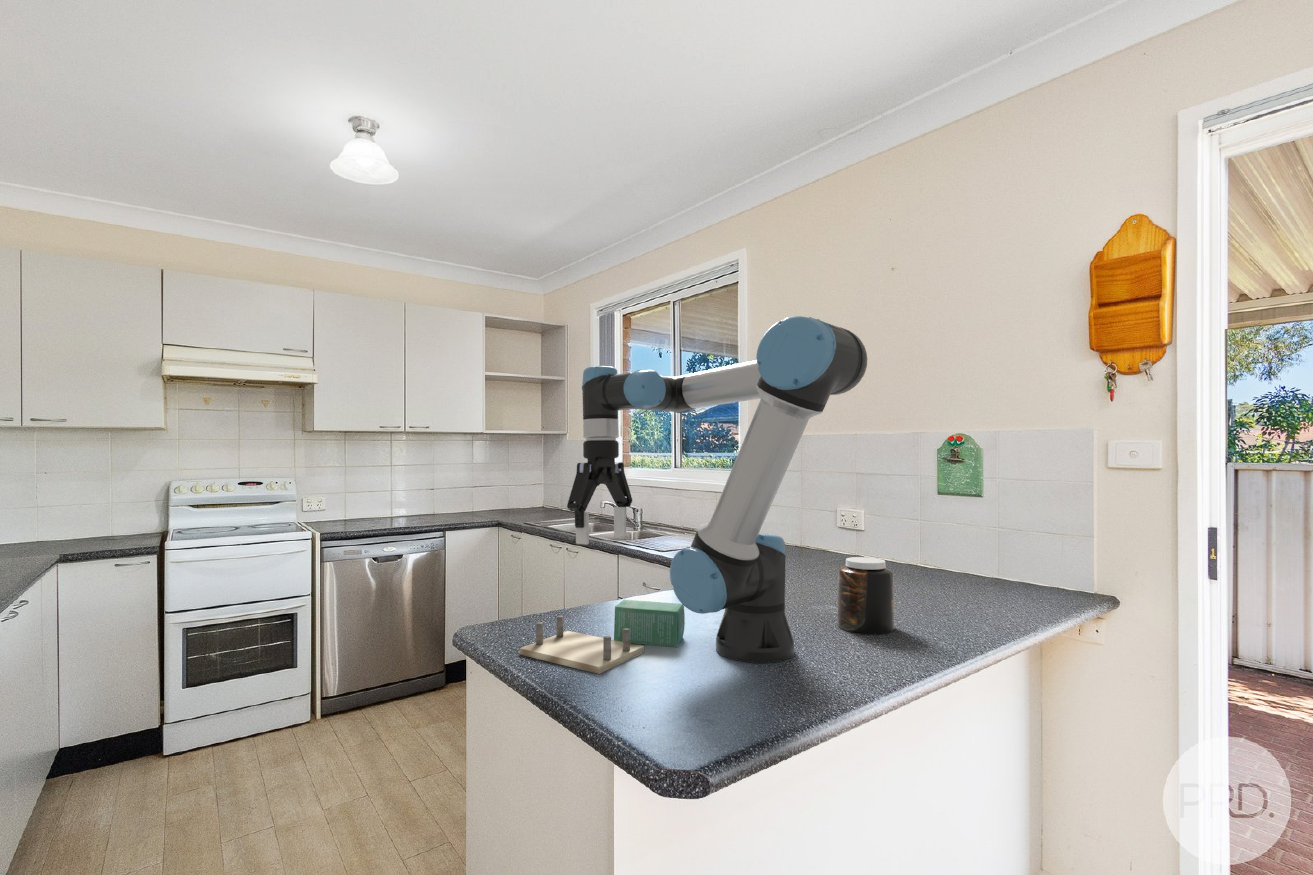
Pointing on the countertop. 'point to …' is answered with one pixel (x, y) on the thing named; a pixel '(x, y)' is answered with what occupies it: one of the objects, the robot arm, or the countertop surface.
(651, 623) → the box
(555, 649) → the tray
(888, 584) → the jar
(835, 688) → the countertop surface
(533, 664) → the countertop surface
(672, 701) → the countertop surface
